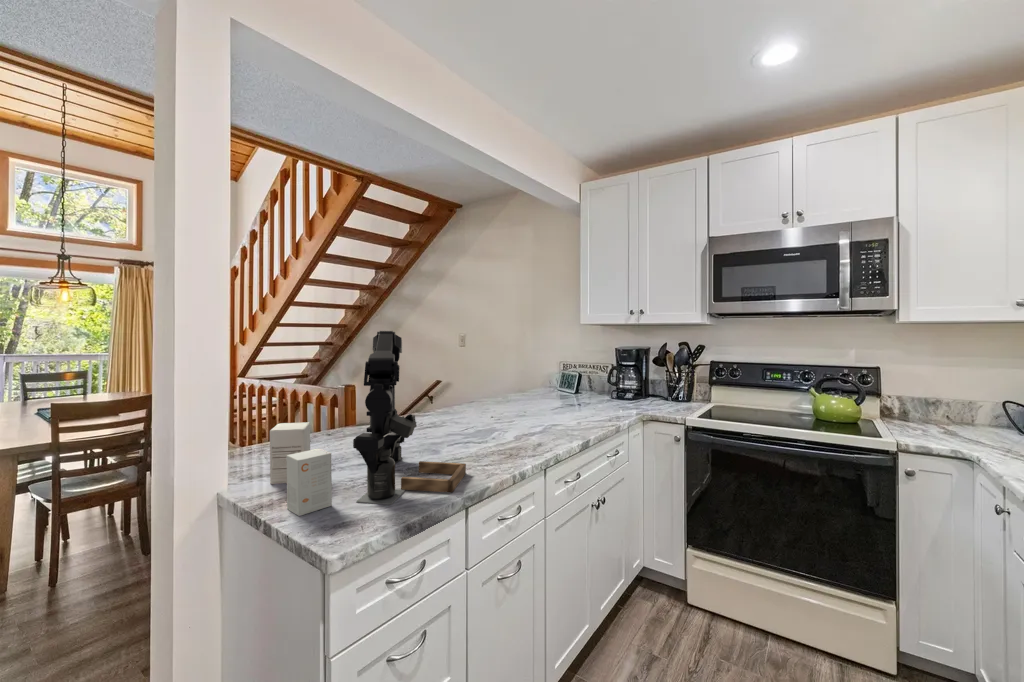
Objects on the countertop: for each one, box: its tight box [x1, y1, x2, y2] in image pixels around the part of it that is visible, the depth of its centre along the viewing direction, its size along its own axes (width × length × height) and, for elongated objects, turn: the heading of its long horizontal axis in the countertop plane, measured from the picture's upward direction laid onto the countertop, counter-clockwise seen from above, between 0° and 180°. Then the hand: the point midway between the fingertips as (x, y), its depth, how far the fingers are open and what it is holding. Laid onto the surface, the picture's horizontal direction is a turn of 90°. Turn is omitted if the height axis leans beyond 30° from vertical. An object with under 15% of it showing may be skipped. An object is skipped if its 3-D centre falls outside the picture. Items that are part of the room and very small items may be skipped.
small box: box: [286, 448, 333, 517], centre depth 105 cm, size 8×6×13 cm
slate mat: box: [356, 488, 406, 506], centre depth 112 cm, size 9×9×1 cm
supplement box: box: [269, 421, 311, 485], centre depth 125 cm, size 9×9×15 cm
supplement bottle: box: [366, 447, 396, 500], centre depth 112 cm, size 7×7×12 cm
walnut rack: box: [400, 460, 467, 494], centre depth 124 cm, size 14×15×3 cm
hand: (381, 467), depth 112 cm, fingers open, 9 cm apart
